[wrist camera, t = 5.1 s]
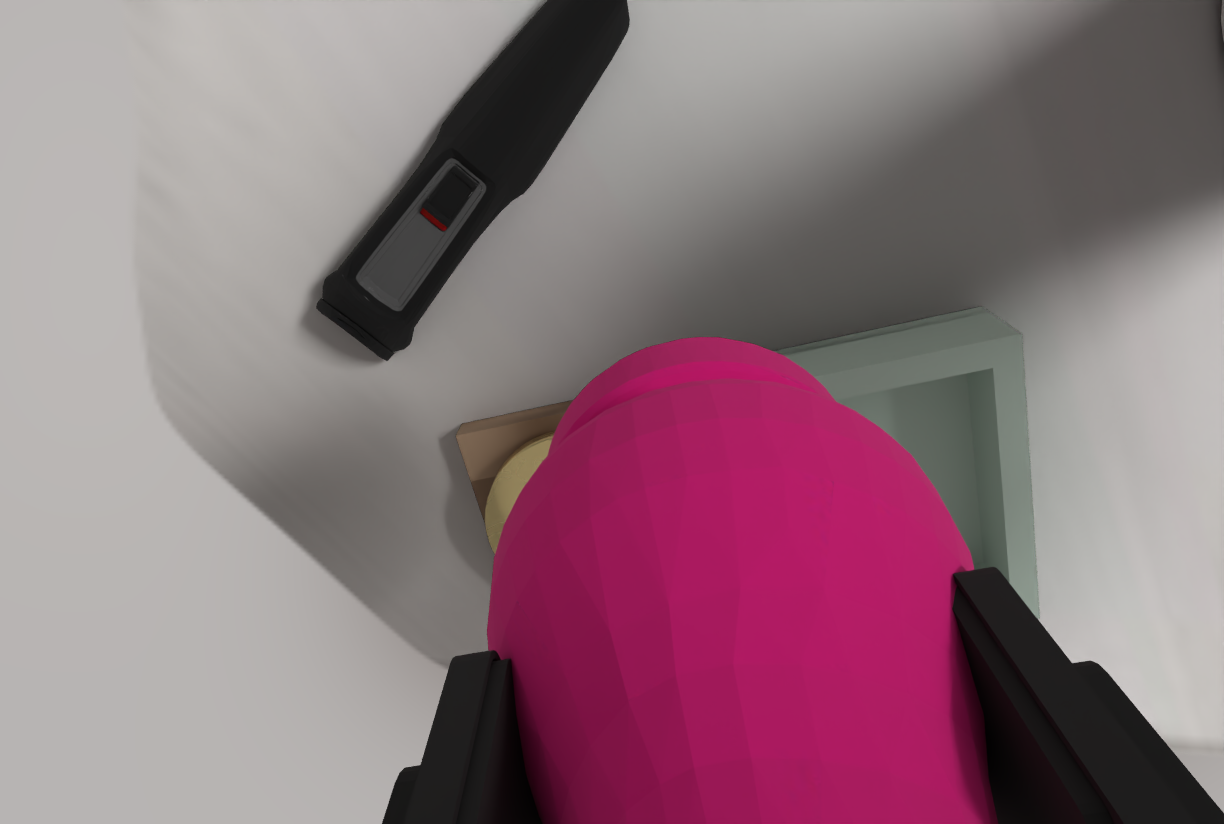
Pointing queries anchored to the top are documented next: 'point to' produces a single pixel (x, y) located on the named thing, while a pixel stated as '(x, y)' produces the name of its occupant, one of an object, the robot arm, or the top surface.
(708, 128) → the top surface
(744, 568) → the pepper mill
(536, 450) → the gold disc
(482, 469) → the checker plinth
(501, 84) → the electric trimmer
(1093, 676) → the robot arm
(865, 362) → the trough tray
